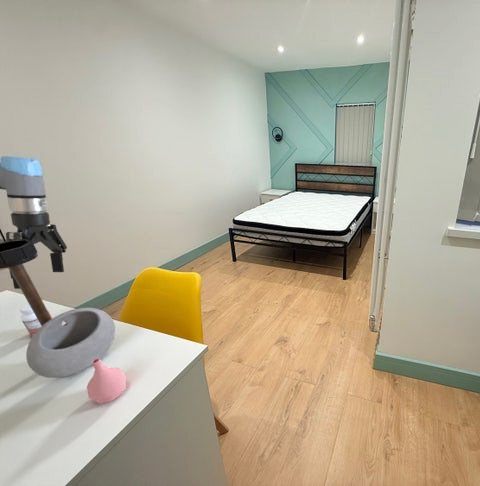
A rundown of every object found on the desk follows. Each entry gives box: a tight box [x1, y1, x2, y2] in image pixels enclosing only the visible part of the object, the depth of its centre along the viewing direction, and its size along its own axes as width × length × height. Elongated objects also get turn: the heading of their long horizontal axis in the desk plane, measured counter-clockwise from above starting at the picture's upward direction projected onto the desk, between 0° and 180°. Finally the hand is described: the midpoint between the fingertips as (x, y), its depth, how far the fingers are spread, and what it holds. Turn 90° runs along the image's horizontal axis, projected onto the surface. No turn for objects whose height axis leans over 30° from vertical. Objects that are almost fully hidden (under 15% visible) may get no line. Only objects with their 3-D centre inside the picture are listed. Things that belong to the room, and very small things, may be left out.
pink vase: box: [86, 358, 127, 404], centre depth 65 cm, size 8×8×12 cm
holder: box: [0, 239, 39, 270], centre depth 64 cm, size 9×9×4 cm
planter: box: [25, 307, 116, 379], centre depth 72 cm, size 18×7×19 cm, turn 153°
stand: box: [8, 263, 53, 326], centre depth 72 cm, size 8×8×33 cm
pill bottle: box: [19, 303, 53, 338], centre depth 86 cm, size 6×6×11 cm
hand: (41, 279), depth 82 cm, fingers open, 13 cm apart
